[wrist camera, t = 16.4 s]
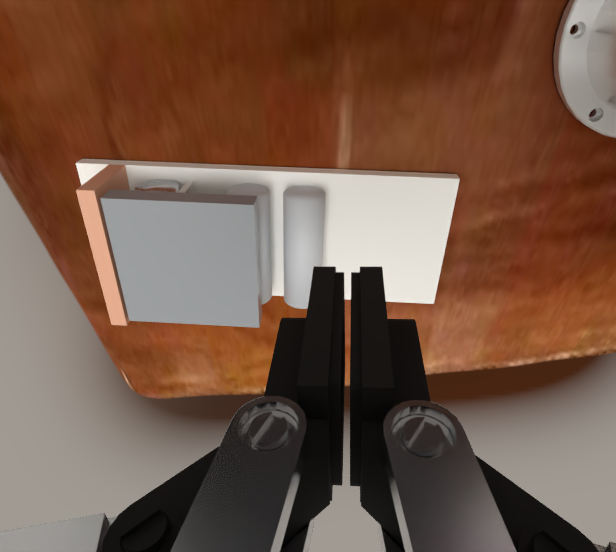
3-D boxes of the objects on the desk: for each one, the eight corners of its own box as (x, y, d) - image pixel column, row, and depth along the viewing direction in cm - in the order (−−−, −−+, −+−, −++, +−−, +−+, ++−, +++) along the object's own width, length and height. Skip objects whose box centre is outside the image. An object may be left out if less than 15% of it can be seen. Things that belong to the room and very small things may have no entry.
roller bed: (456, 174, 33) (477, 207, 28) (431, 297, 39) (445, 342, 34) (82, 158, 34) (37, 188, 29) (112, 280, 40) (79, 322, 35)
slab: (257, 195, 30) (253, 204, 29) (262, 315, 36) (259, 327, 34) (110, 189, 31) (100, 198, 30) (136, 308, 36) (129, 320, 35)
